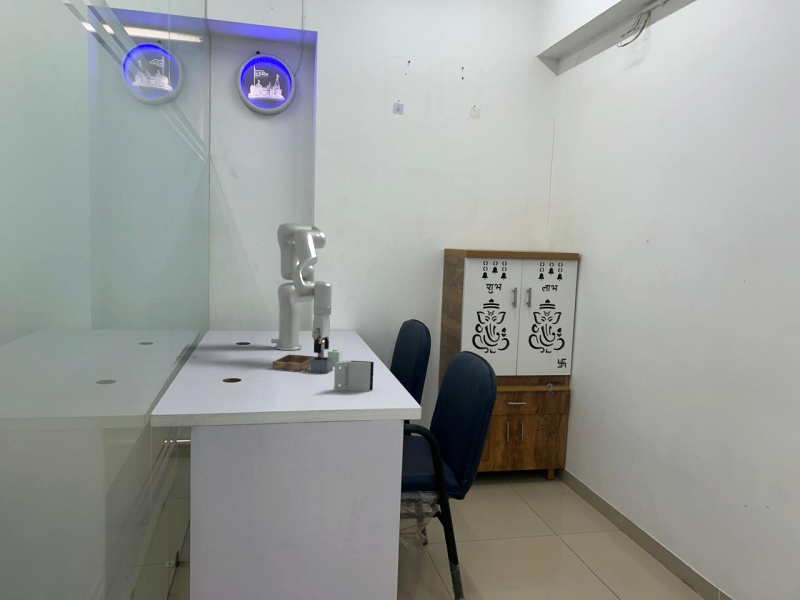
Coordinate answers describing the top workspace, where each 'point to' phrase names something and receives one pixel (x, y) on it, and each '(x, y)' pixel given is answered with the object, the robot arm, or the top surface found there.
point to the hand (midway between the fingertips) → (321, 350)
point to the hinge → (353, 375)
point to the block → (321, 364)
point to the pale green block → (335, 355)
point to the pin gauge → (322, 348)
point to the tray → (293, 362)
